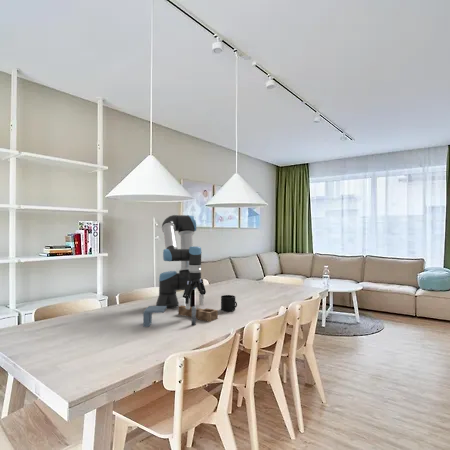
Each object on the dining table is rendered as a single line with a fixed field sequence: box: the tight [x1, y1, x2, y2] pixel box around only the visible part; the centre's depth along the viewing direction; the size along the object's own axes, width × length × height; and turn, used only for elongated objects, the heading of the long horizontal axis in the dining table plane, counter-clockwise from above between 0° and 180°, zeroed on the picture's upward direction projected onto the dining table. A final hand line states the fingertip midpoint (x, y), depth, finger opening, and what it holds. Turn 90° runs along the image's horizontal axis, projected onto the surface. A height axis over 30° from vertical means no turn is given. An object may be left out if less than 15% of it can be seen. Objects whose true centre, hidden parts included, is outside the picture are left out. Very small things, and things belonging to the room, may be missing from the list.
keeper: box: [142, 305, 168, 328], centre depth 184 cm, size 11×11×9 cm
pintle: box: [191, 305, 197, 326], centre depth 184 cm, size 2×2×10 cm
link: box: [177, 304, 219, 323], centre depth 200 cm, size 25×8×5 cm, turn 58°
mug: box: [220, 294, 238, 313], centre depth 217 cm, size 9×12×9 cm
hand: (194, 307), depth 201 cm, fingers open, 13 cm apart
